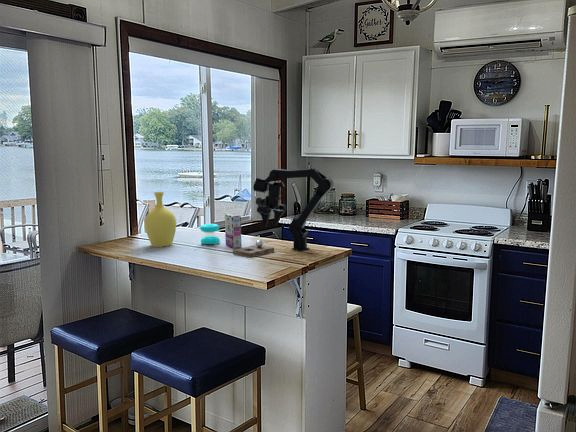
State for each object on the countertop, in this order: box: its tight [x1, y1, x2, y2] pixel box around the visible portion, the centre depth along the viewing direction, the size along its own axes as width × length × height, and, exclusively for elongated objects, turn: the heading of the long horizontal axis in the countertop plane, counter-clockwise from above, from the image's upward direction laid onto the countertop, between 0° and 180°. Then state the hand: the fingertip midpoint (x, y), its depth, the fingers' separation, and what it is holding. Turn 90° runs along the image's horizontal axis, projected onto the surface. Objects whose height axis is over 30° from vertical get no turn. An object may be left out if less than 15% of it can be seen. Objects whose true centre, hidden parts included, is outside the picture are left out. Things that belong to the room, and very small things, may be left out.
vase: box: [144, 191, 177, 248], centre depth 262 cm, size 16×16×28 cm
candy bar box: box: [224, 213, 243, 249], centre depth 255 cm, size 11×5×16 cm, turn 27°
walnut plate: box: [232, 244, 275, 259], centre depth 240 cm, size 16×12×2 cm
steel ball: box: [255, 239, 264, 247], centre depth 242 cm, size 4×4×4 cm
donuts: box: [199, 223, 221, 245], centre depth 265 cm, size 10×10×10 cm
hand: (270, 225), depth 248 cm, fingers open, 9 cm apart
